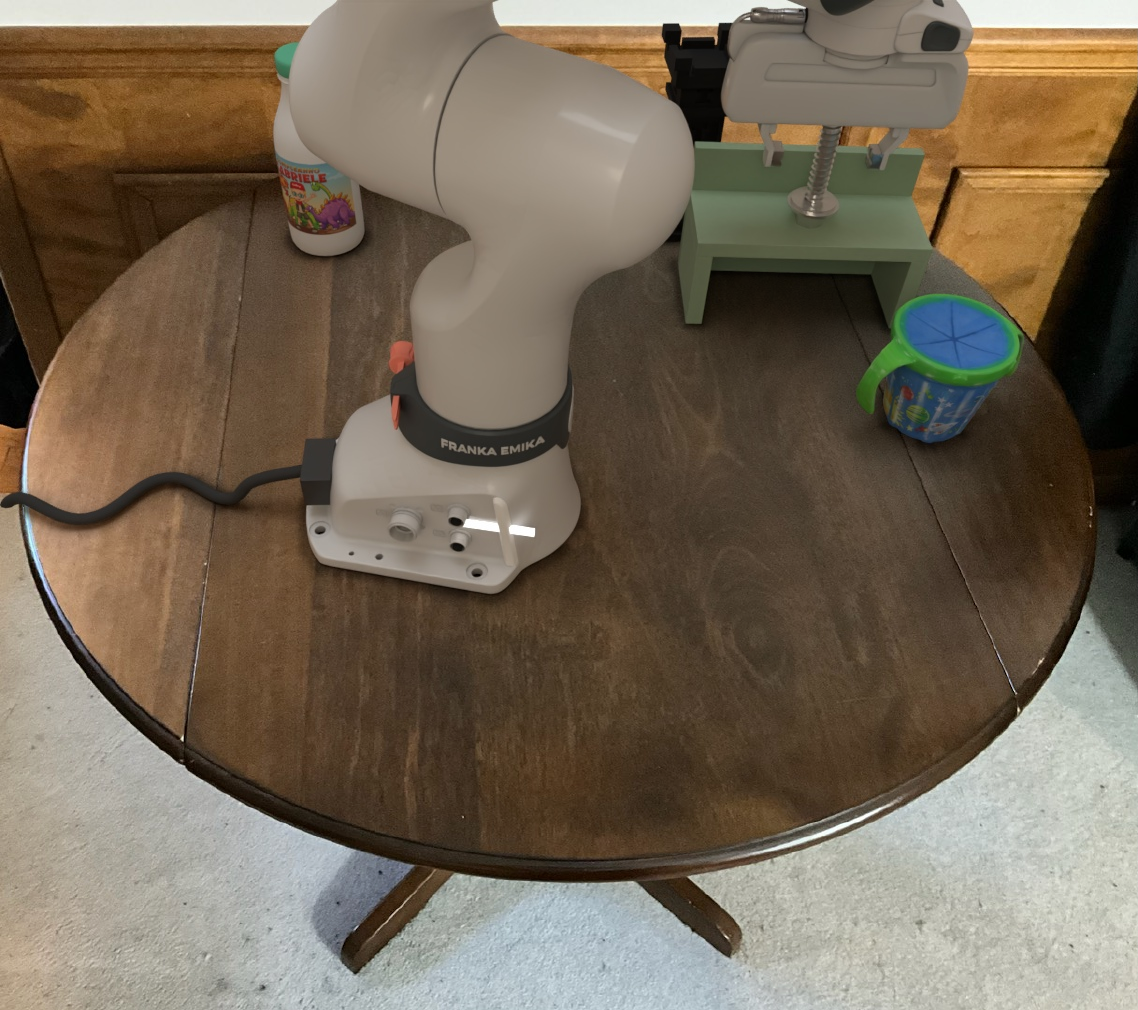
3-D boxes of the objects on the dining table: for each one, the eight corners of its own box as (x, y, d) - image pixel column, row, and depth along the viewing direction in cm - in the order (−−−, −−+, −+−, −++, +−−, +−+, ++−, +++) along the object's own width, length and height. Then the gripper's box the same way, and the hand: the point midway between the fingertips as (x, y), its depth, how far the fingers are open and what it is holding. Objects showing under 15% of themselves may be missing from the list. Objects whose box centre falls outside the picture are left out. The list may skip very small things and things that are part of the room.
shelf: (685, 323, 103) (704, 200, 93) (677, 262, 110) (694, 141, 99) (904, 329, 104) (948, 207, 93) (883, 268, 111) (922, 148, 100)
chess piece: (639, 199, 117) (658, 21, 102) (709, 197, 118) (737, 20, 103) (651, 241, 112) (672, 60, 97) (723, 239, 113) (755, 59, 98)
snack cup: (870, 472, 91) (902, 386, 83) (820, 391, 97) (846, 304, 90) (1026, 443, 94) (1072, 358, 86) (968, 367, 101) (1006, 281, 93)
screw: (773, 213, 100) (814, 201, 101) (802, 240, 97) (844, 228, 98) (801, 83, 90) (846, 72, 91) (834, 109, 87) (880, 98, 89)
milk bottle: (304, 212, 113) (271, 28, 98) (373, 220, 113) (351, 36, 98) (281, 253, 108) (243, 67, 93) (354, 262, 108) (327, 76, 93)
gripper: (738, 24, 82) (712, 180, 92) (994, 33, 82) (940, 187, 93) (729, -11, 86) (705, 143, 96) (973, -2, 87) (923, 150, 97)
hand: (822, 165), depth 95 cm, fingers open, 8 cm apart
